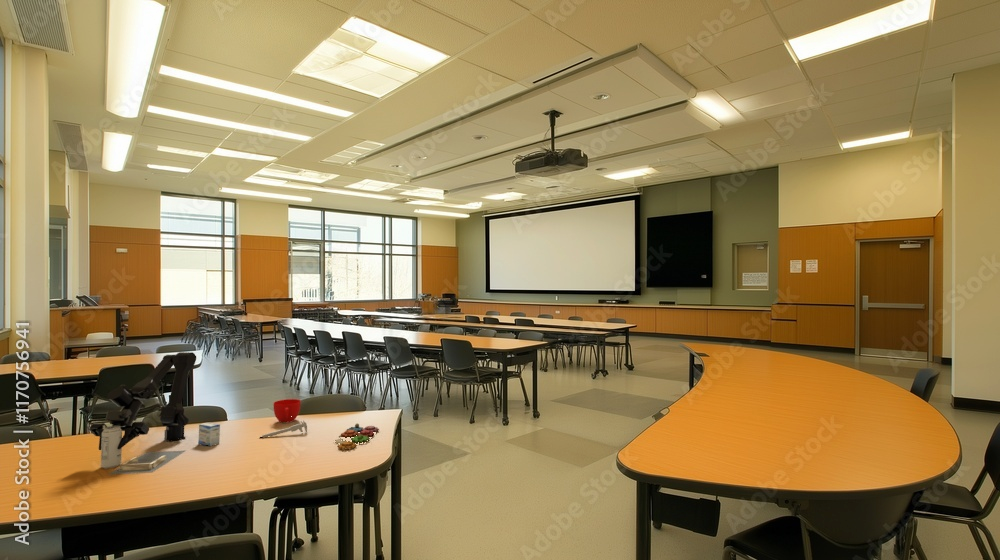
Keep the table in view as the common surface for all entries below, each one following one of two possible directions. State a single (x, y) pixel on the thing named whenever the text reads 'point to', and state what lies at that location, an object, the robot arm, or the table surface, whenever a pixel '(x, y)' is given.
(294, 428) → the caliper
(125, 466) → the pocket
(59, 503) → the table surface
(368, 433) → the gear puzzle
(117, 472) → the mat
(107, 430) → the energy drink can
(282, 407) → the ceramic cup
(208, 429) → the medicine box
